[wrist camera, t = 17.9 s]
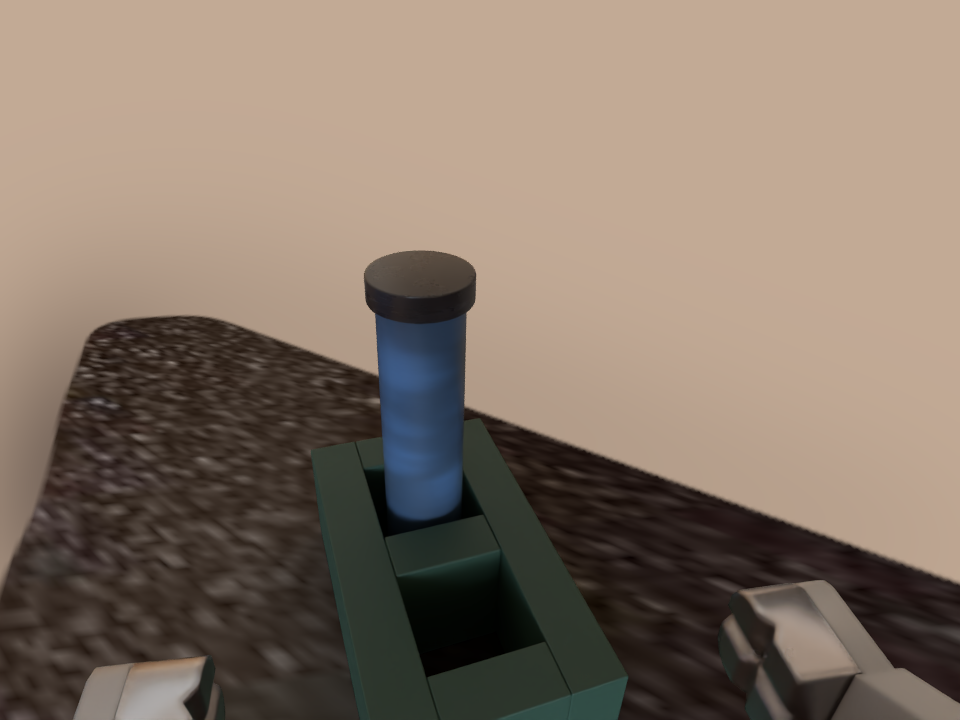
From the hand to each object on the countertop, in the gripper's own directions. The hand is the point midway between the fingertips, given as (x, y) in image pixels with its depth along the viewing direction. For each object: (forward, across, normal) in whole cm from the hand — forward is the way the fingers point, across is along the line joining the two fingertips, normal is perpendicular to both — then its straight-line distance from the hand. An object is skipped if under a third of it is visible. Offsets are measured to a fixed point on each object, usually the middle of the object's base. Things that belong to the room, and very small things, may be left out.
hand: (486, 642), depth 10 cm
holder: (+12, -1, +15) cm, 19 cm away
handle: (+14, 0, +15) cm, 21 cm away
